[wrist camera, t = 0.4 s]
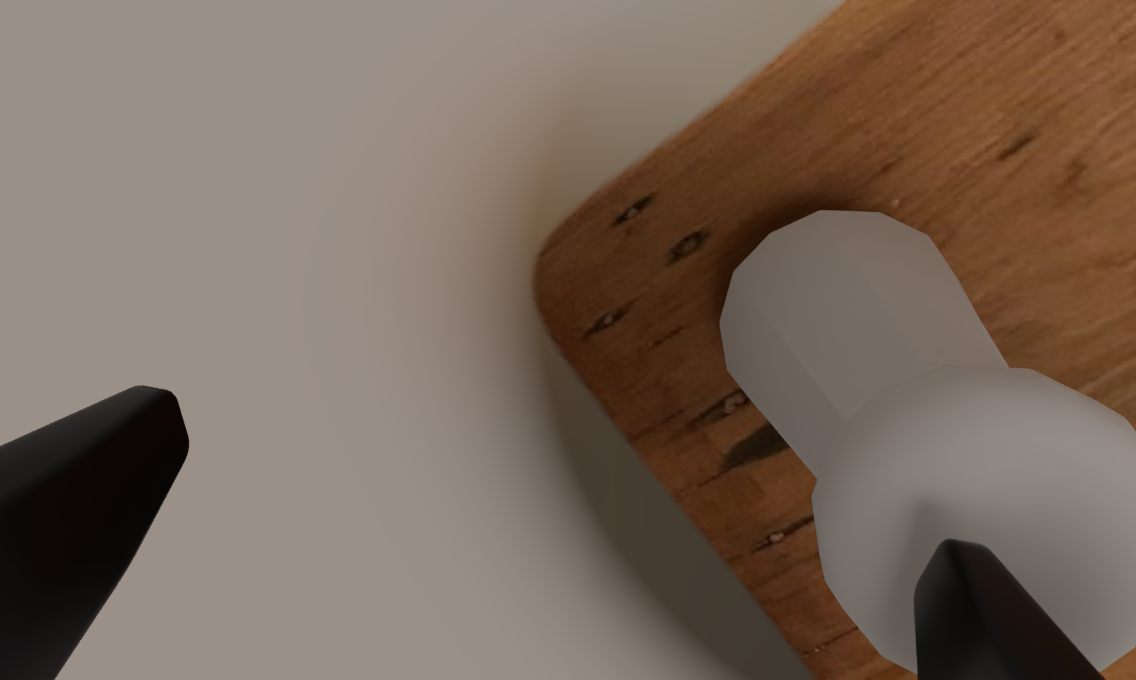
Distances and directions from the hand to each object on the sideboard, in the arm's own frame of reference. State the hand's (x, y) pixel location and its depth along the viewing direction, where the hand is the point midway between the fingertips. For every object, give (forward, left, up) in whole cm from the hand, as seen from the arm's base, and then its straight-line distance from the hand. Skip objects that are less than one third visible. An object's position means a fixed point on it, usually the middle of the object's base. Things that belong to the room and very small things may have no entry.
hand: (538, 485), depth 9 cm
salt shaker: (+3, -5, -14) cm, 15 cm away
